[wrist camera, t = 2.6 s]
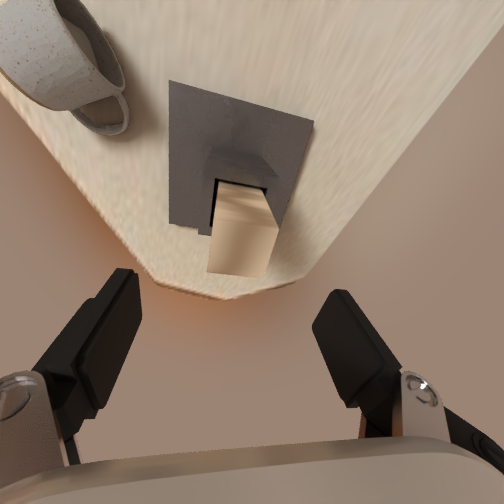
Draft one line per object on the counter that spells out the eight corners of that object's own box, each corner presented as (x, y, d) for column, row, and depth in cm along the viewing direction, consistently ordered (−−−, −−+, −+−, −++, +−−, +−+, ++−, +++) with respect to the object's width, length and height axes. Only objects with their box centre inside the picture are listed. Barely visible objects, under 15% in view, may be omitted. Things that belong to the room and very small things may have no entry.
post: (251, 166, 28) (280, 228, 12) (245, 195, 30) (263, 278, 15) (221, 160, 27) (212, 217, 12) (218, 190, 29) (206, 272, 14)
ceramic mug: (19, 35, 21) (-70, 2, 15) (87, -1, 20) (23, -52, 14) (97, 144, 27) (57, 154, 21) (151, 120, 26) (127, 123, 20)
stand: (310, 120, 27) (366, 123, 16) (274, 235, 37) (294, 286, 26) (171, 81, 24) (122, 50, 13) (171, 219, 33) (142, 270, 22)
